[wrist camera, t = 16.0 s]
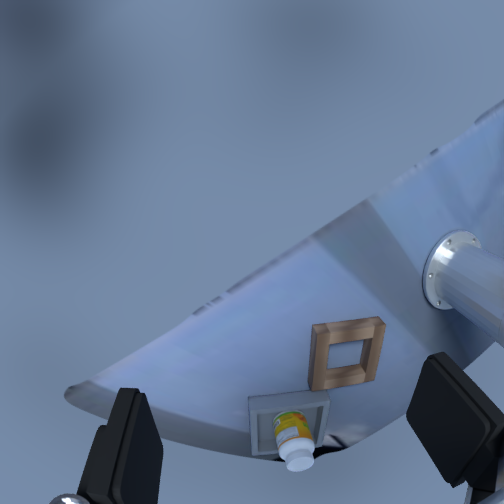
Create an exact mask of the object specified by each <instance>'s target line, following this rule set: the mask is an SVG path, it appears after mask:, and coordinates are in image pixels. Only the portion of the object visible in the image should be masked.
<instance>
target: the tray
mask: <svg viewBox="0 0 504 504" xmlns="http://www.w3.org/2000/svg"><path fill="white" fill-rule="evenodd" d="M330 402H331V399H330V397H329V395H328V393H327V390H326V389H325V390H319V391H311V390H306V391H299V392H291V393H282V394H273V395H263V396H252V397H248V406H249V424H250V442H251V451H252V456H256V455H266V454H275V453H279V452H278V447H277V442H276V438H275V433H274V428H273V420H274V418H275V417H276V416H277V415H278V414H279V413H281V412H284V411H292V410H299V411H301V412H302V413H303V414H304V415H305V417H306V420H307V423H308V426H309V430H310V433H311V436H312V439H313V442H314V446H315V448H316V447H321V446H322V443H323V439H324V434H325V429H326V424H327V418H328V413H329V408H330Z"/></svg>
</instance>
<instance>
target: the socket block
mask: <svg viewBox="0 0 504 504" xmlns="http://www.w3.org/2000/svg"><path fill="white" fill-rule="evenodd" d="M385 328H386V324H385V323H384V322H383V321H382V320H381V319H380V317H379V316H377V317H370V318H363V319H356V320H348V321H340V322H332V323H324V324H315V325H312V335H311V349H310V361H309V372H308V383H309V386H310V388H311V391H319V390H325V389H331V388H337V387H343V386H348V385H353V384H359V383H364V382H368V381H373V380H374V379H375V375H376V371H377V366H378V362H379V357H380V353H381V348H382V343H383V338H384V333H385ZM362 339H364V343H363V348H362V354H361V359H360V364H356V365H351V366H345V367H339V368H332V369H327V361H328V352H329V344H335V343H342V342H349V341H355V340H362Z"/></svg>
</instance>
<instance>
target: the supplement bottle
mask: <svg viewBox="0 0 504 504" xmlns="http://www.w3.org/2000/svg"><path fill="white" fill-rule="evenodd" d="M273 428H274V433H275V438H276V442H277V447H278V452H279V455H280V457H281V458H282V459H283V460H285V462H286V466H287V469H288V470H290V471H293V472H299V471H304V470H306V469H308V468H310V467H311V466H312V465H313V464H314V458H313V455H312V453H313V451H314V449H315V446H314V442H313V439H312V436H311V433H310V430H309V426H308V423H307V420H306V417H305V415H304V414H303V413H302V412H301V411H299V410H292V411H284V412H281V413H279V414H278V415H277V416H276V417H275V418H274V420H273Z"/></svg>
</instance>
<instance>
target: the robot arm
mask: <svg viewBox="0 0 504 504" xmlns="http://www.w3.org/2000/svg"><path fill="white" fill-rule="evenodd" d="M423 289H424V293H425V296H426V298H427V300H428V301H429V302H430V303H431V304H432V305H433V306H435V307H436V308H438V309H441V310H447V309H452V308H454V309H456V310H457V311H458V312H460V313H461V314H462V315H463V316H465V317H466V318H467V319H469V320H470V321H471V322H472V323H474V324H475V325H476V326H477V327H479V328H480V329H481V330H482V331H484V332H485V333H486V334H487V335H489V336H490V337H491V338H492V339H494V340H495V341H496V342H497V343H499V344H500V345H501V346H502V347H503V348H504V259H502V258H499V257H497V256H495V255H493V254H491V253H489V252H487V251H485V250H482V247H481V244H480V242H479V240H478V239H477V237H475V236H474V235H473V234H472V233H469V232H467V231H464V230H456V231H453V232H450V233H449V234H447V235H445V236H444V237H443V238H442V239H441V240H440V241H439V242H438V243H437V244H436V245H435V247H434V248H433V250H432V251H431V253H430V255H429V257H428V260H427V262H426V265H425V269H424V274H423ZM406 417H407V421H408V422H409V424H410V426H411V427H412V429H413V430H414V432H415V433H416V435H417V437H418V438H419V440H420V441H421V443H422V444H423V446H424V448H425V449H426V451H427V452H428V454H429V456H430V457H431V459H432V461H433V462H434V464H435V465H436V467H437V468H438V470H439V472H440V474H441V475H442V477H443V478H444V480H445V481H446V482H447V483H450V484H451V486H452V488H454V487H456V486H458V485H460V484H462V483H464V482H465V480H466V481H467V483H468V488H467V493H466V498H465V503H464V504H504V414H503V413H502V412H501V410H500V409H499V408H498V407H497V406H496V405H495V404H494V403H493V402H492V401H491V400H490V399H489V397H487V396H486V394H485V393H484V392H483V391H482V390H481V389H480V388H479V387H478V386H477V385H476V384H475V383H474V382H473V381H472V379H471V378H470V377H469V376H468V375H467V374H466V373H465V372H464V371H463V370H462V369H461V368H460V367H459V366H458V365H457V364H456V363H455V362H454V361H453V360H452V359H451V358H450V357H449V356H448V355H447V354H446V353H444V352H440V353H436V354H432V355H429V356H428V357H427V360H426V361H425V362H424V364H423V367H422V370H421V373H420V376H419V379H418V382H417V385H416V388H415V391H414V394H413V397H412V399H411V402H410V405H409V407H408V410H407V413H406ZM162 460H163V445H162V442H161V439H160V436H159V433H158V431H157V428H156V425H155V422H154V419H153V416H152V413H151V410H150V407H149V404H148V401H147V397H146V395H145V393H140V391H139V389H137V388H120V389H119V391H118V394H117V397H116V400H115V402H114V405H113V408H112V411H111V414H110V417H109V420H108V423H107V425H101V426H100V427H99V428H98V430H97V432H96V435H95V438H94V441H93V444H92V446H91V449H90V452H89V455H88V459H87V462H86V465H85V468H84V471H83V474H82V477H81V481H80V484H79V487H78V491H77V494H62V495H59V496H57V497H55V498H54V499H53V500H52V501H51V502H50V503H49V504H157V503H158V494H159V485H160V476H161V468H162Z"/></svg>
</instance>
